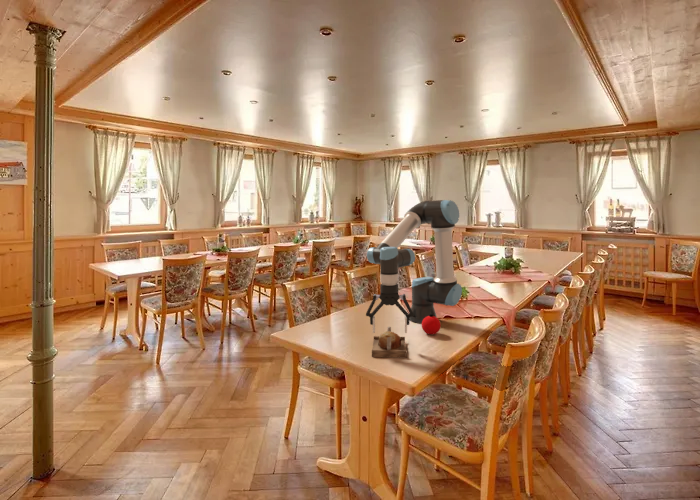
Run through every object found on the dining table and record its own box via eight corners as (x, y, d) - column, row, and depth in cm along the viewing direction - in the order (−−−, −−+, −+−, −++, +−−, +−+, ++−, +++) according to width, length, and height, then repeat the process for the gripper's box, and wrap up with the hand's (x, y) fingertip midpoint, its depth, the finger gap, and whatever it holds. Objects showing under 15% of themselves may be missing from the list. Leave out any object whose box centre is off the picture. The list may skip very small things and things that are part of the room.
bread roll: (380, 349, 170) (372, 334, 169) (401, 339, 171) (393, 323, 170) (384, 358, 161) (375, 341, 160) (405, 347, 161) (397, 330, 160)
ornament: (439, 338, 179) (439, 317, 178) (419, 336, 182) (420, 315, 181) (441, 332, 188) (441, 312, 187) (423, 330, 191) (423, 310, 190)
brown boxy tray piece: (404, 342, 173) (404, 326, 173) (406, 357, 156) (406, 339, 155) (373, 341, 175) (373, 325, 174) (371, 356, 157) (371, 338, 156)
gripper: (418, 281, 165) (418, 329, 167) (360, 281, 167) (361, 328, 170) (419, 285, 157) (419, 335, 160) (359, 285, 160) (360, 334, 162)
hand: (389, 332), depth 165 cm, fingers open, 13 cm apart
